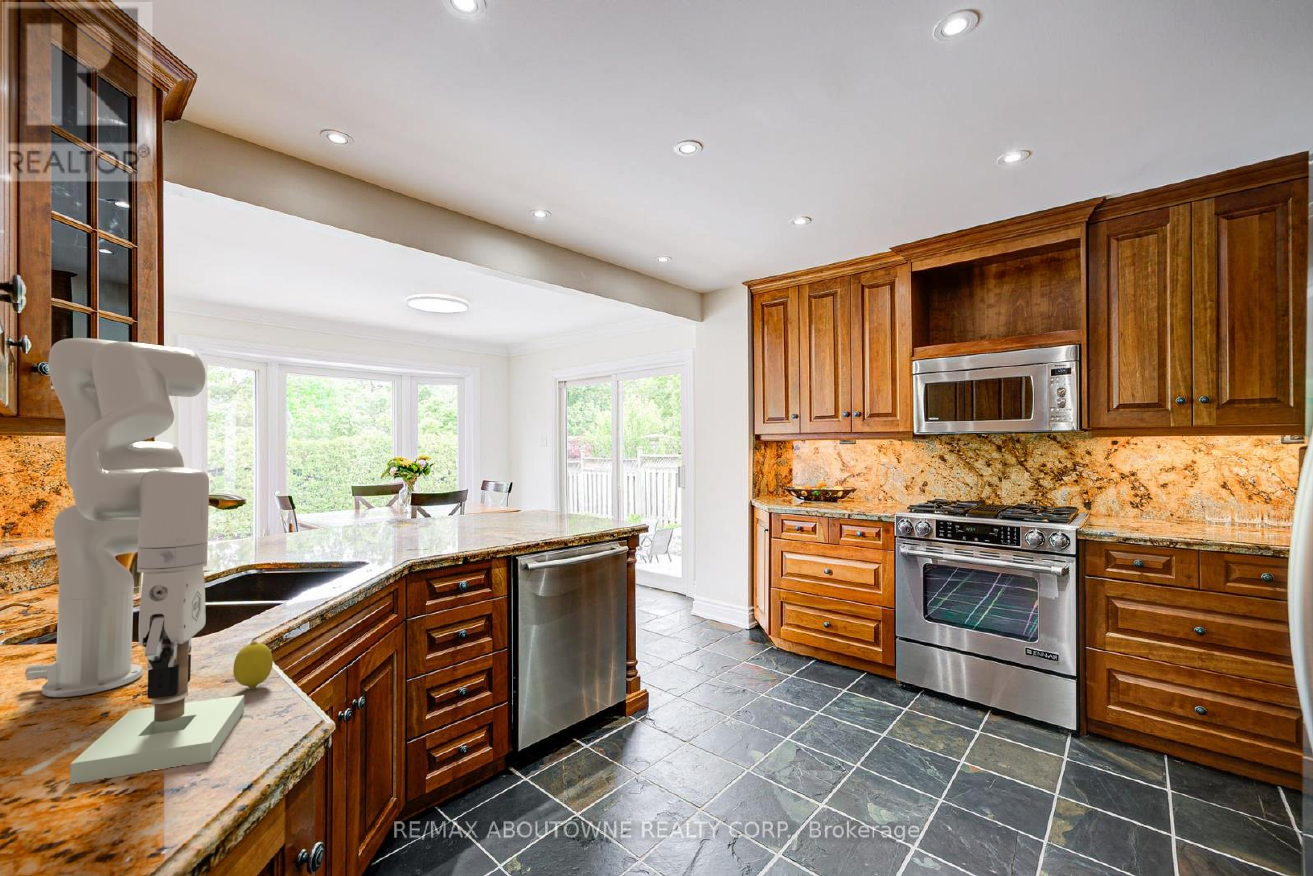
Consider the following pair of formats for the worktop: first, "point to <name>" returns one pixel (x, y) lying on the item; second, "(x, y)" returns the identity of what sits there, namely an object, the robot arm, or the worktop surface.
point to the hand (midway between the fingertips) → (169, 689)
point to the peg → (175, 704)
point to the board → (158, 740)
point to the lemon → (253, 664)
